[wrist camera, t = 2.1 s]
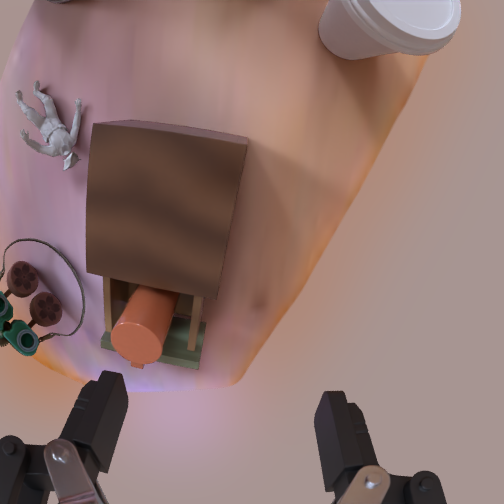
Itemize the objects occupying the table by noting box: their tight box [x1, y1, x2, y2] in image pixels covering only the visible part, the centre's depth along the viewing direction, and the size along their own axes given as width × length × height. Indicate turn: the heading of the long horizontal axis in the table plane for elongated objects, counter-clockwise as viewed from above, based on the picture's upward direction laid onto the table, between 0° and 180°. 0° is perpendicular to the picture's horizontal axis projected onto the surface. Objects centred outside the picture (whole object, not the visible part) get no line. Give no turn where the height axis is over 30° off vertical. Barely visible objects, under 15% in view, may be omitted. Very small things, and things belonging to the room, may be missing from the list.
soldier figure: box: [16, 81, 81, 171], centre depth 27 cm, size 8×5×12 cm
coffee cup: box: [318, 0, 461, 60], centre depth 19 cm, size 10×10×15 cm
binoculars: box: [0, 238, 85, 356], centre depth 31 cm, size 14×14×15 cm
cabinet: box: [86, 120, 248, 299], centre depth 29 cm, size 14×13×9 cm
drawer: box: [100, 276, 206, 369], centre depth 33 cm, size 14×11×7 cm
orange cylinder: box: [111, 284, 181, 369], centre depth 30 cm, size 5×6×11 cm
